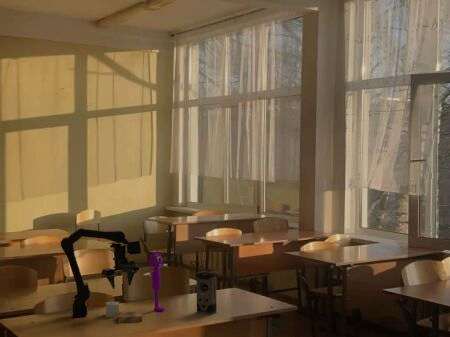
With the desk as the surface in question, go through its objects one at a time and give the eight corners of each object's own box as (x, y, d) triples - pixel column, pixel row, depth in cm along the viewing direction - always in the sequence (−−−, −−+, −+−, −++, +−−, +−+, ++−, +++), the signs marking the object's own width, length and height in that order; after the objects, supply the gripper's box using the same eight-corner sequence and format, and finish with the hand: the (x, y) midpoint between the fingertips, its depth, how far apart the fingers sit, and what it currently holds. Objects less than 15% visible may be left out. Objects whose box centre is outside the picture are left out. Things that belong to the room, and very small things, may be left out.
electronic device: (195, 312, 303) (195, 272, 303) (201, 310, 308) (201, 270, 308) (211, 314, 298) (211, 273, 299) (217, 312, 304) (217, 272, 304)
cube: (106, 317, 296) (106, 305, 296) (106, 314, 301) (106, 302, 301) (118, 316, 297) (118, 304, 297) (118, 313, 302) (118, 301, 302)
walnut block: (118, 323, 285) (118, 317, 285) (118, 318, 295) (118, 312, 295) (142, 322, 286) (142, 316, 286) (141, 317, 296) (141, 311, 296)
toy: (153, 319, 291) (153, 256, 291) (138, 318, 292) (138, 255, 292) (174, 303, 324) (173, 247, 325) (160, 303, 326) (159, 246, 326)
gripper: (112, 259, 291) (113, 292, 292) (144, 254, 304) (146, 285, 304) (100, 258, 300) (101, 289, 300) (132, 252, 312) (134, 283, 312)
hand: (121, 287), depth 304 cm, fingers open, 9 cm apart
